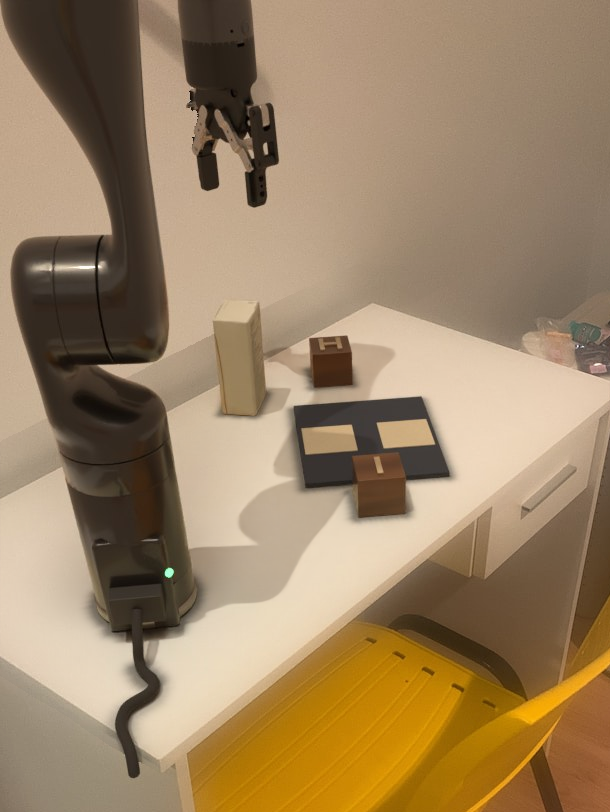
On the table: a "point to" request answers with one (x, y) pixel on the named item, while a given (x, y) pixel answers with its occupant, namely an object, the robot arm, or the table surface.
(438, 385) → the table surface
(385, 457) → the brown letter i block
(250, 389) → the cosmetic box
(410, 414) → the word mat
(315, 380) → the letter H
